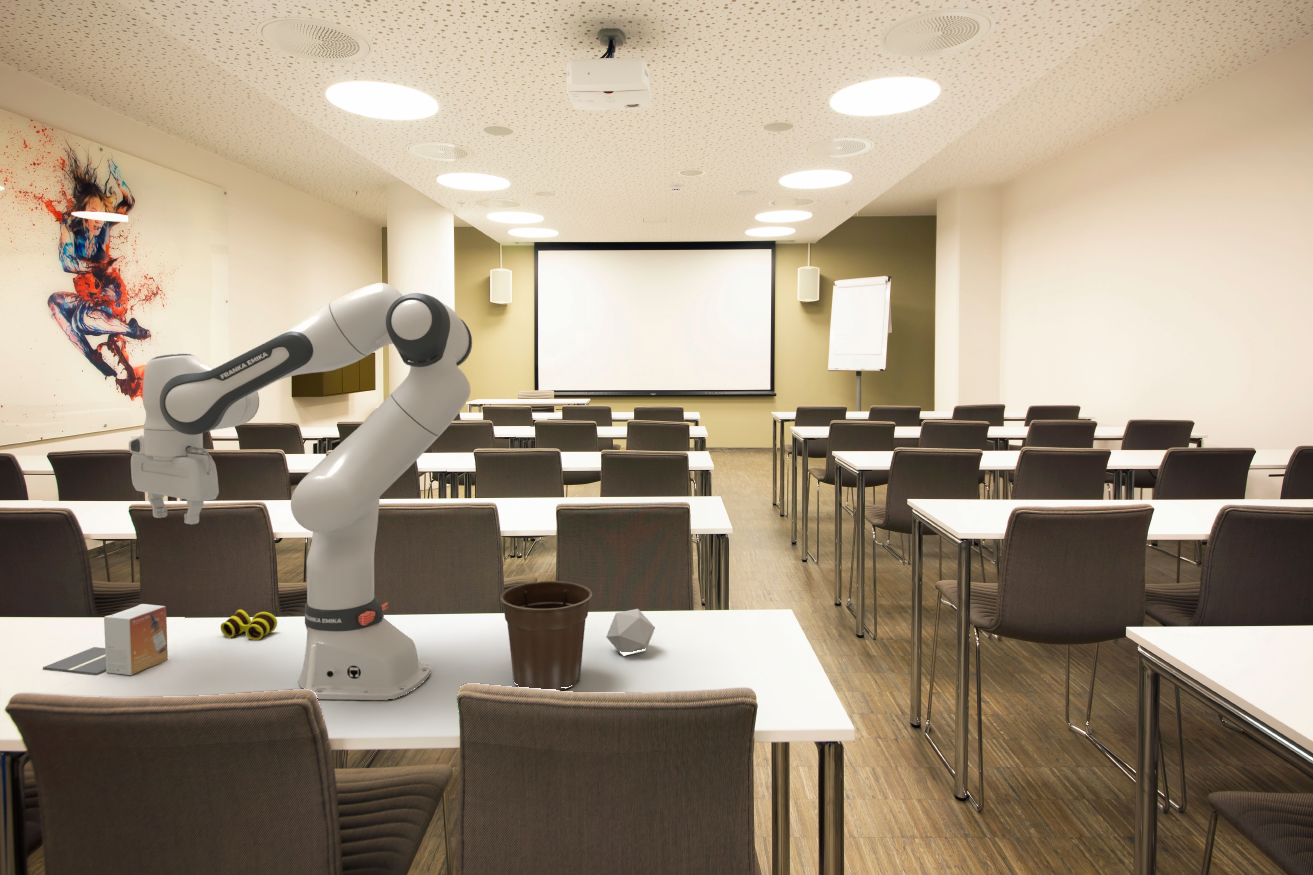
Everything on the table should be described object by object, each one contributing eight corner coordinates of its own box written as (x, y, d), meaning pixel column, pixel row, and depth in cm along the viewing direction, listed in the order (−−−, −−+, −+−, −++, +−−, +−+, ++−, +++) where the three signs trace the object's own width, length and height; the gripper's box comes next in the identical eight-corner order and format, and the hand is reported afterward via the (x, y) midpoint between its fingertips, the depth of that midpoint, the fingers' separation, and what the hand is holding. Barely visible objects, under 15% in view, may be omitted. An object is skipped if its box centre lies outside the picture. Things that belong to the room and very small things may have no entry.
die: (652, 664, 143) (666, 615, 148) (615, 647, 140) (630, 597, 144) (630, 665, 150) (644, 618, 155) (594, 648, 147) (610, 601, 151)
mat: (145, 654, 141) (144, 651, 141) (96, 675, 131) (96, 672, 131) (94, 648, 143) (94, 646, 143) (43, 669, 133) (42, 666, 133)
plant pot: (524, 708, 122) (525, 614, 120) (485, 674, 135) (485, 589, 133) (607, 685, 131) (609, 597, 130) (563, 656, 144) (564, 576, 143)
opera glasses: (220, 641, 151) (216, 619, 149) (239, 627, 156) (235, 606, 154) (262, 645, 149) (258, 623, 148) (279, 631, 154) (275, 610, 153)
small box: (131, 676, 131) (128, 619, 130) (105, 673, 132) (102, 616, 131) (169, 659, 139) (167, 605, 138) (144, 656, 140) (142, 602, 139)
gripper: (227, 447, 130) (229, 524, 131) (159, 439, 139) (160, 511, 140) (191, 450, 124) (193, 530, 125) (122, 441, 133) (124, 516, 134)
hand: (175, 520), depth 133 cm, fingers open, 8 cm apart
